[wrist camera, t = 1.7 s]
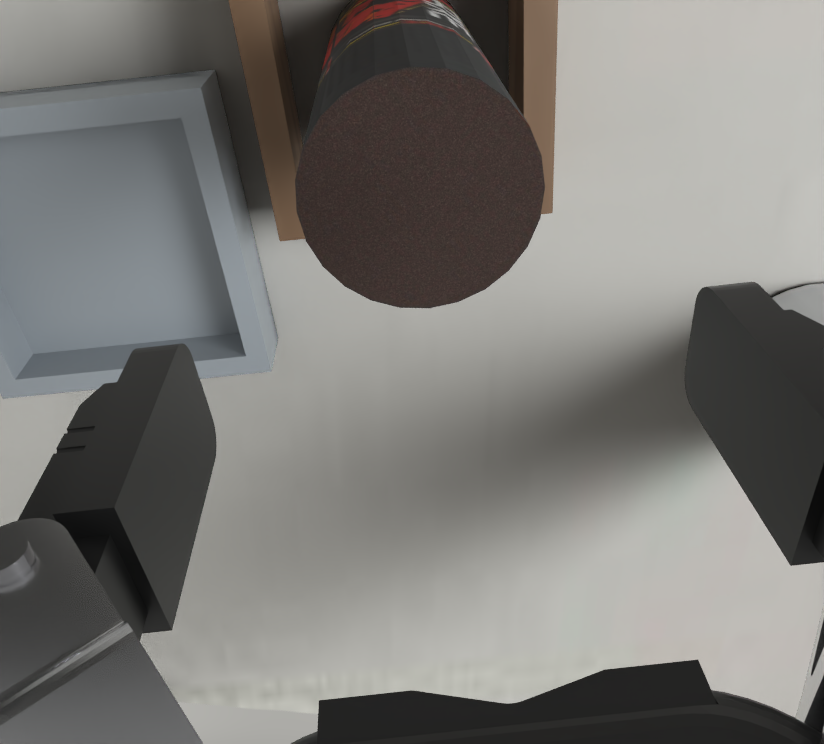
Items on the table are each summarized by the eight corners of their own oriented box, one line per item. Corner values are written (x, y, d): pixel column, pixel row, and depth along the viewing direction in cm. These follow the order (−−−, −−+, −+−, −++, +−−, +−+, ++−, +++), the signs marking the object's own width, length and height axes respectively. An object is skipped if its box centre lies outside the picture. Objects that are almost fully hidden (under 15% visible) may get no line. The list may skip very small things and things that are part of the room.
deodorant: (486, -3, 28) (578, 92, 16) (454, 146, 31) (509, 322, 19) (335, -33, 27) (307, 42, 15) (319, 123, 30) (284, 292, 18)
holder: (539, -121, 26) (561, -120, 23) (536, 183, 32) (552, 213, 29) (228, -87, 26) (210, -82, 23) (287, 208, 32) (279, 241, 30)
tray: (215, 69, 29) (200, 87, 26) (278, 338, 36) (271, 371, 34) (-100, 103, 29) (-143, 124, 27) (27, 363, 37) (2, 398, 34)
